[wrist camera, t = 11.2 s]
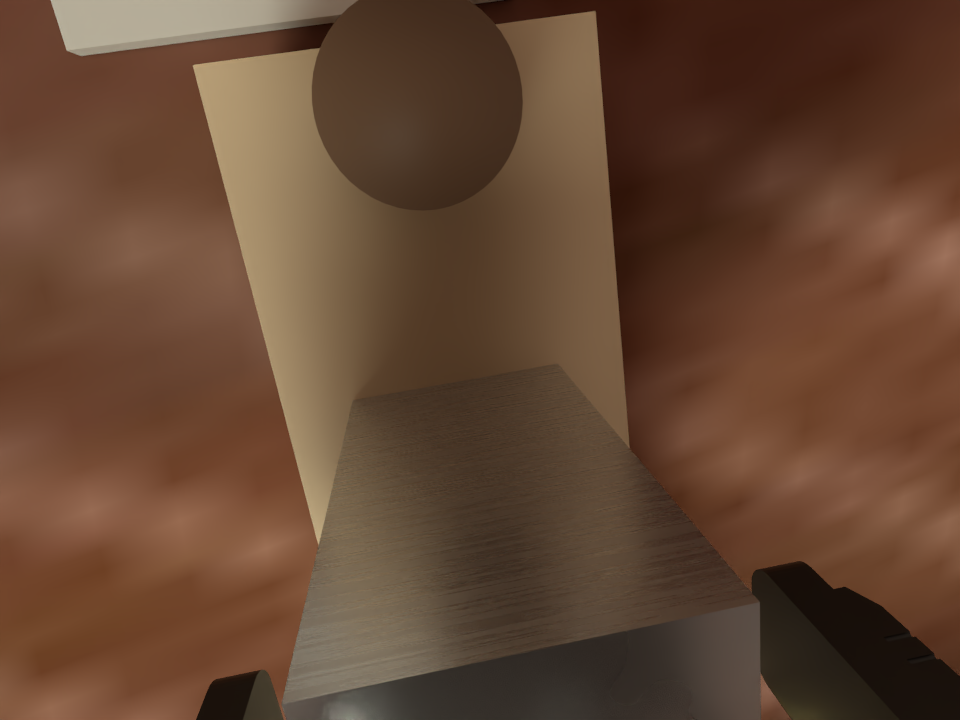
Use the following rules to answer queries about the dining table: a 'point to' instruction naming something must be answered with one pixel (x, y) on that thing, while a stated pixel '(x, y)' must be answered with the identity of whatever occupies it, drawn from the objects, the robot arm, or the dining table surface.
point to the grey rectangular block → (513, 571)
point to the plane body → (421, 210)
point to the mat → (182, 20)
